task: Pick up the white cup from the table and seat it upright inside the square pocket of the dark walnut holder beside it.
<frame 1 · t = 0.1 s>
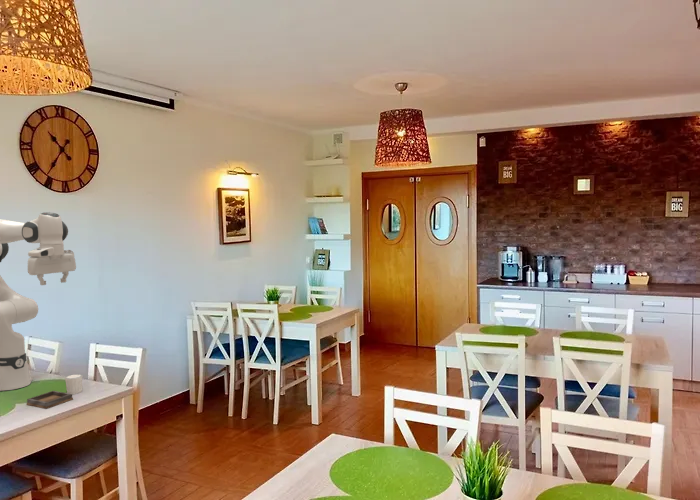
hand: (53, 283, 231), 48 cm above the table, tool pointing down, fingers open, 8 cm apart
white cup: (74, 392, 237), on the table
walnut holder: (50, 402, 225), on the table
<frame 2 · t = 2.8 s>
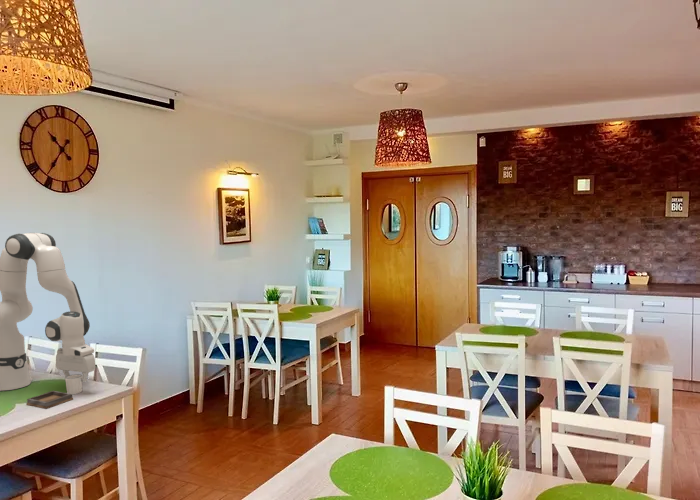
hand: (76, 380, 237), 5 cm above the table, tool pointing down, fingers open, 8 cm apart
nothing on the table moved.
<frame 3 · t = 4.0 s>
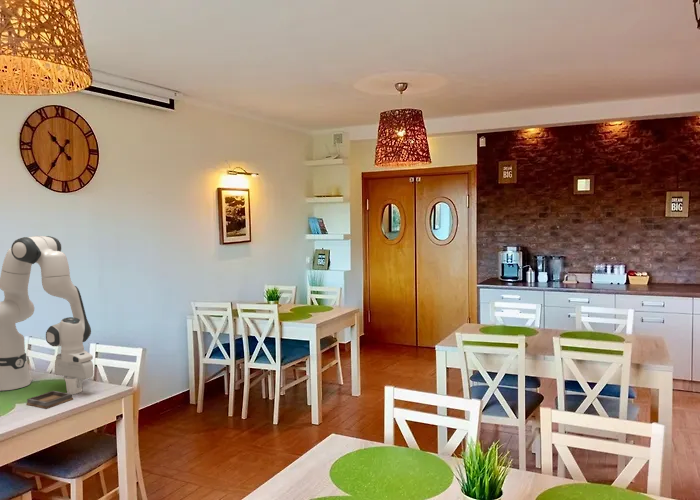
hand: (74, 386, 237), 2 cm above the table, tool pointing down, fingers closed on white cup, 5 cm apart
white cup: (74, 392, 237), on the table, touching gripper
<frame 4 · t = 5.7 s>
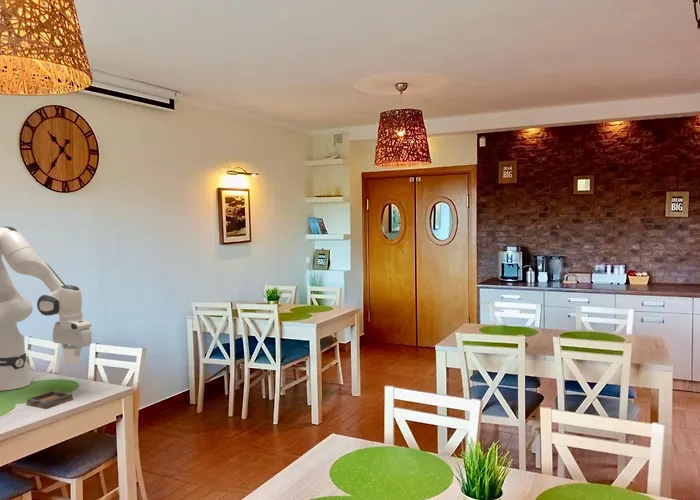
hand: (72, 354, 236), 16 cm above the table, tool pointing down, fingers closed on white cup, 5 cm apart
white cup: (72, 363, 237), point 13 cm above the table, touching gripper
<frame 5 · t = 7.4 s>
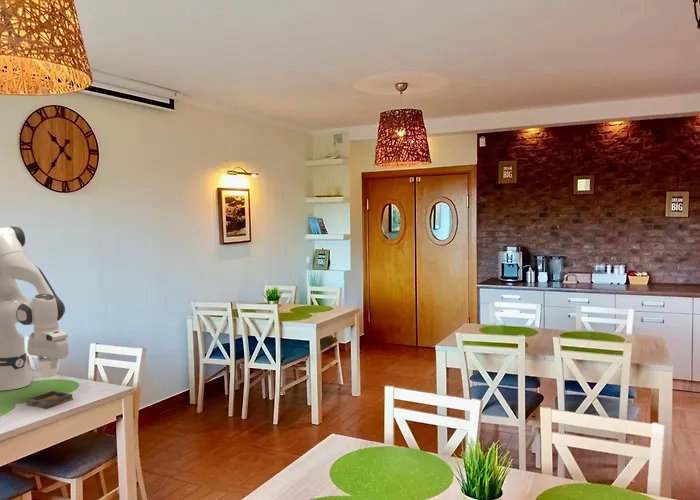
hand: (48, 367, 224), 15 cm above the table, tool pointing down, fingers closed on white cup, 5 cm apart
white cup: (49, 376, 224), point 11 cm above the table, touching gripper
when the fingers open (5 cm above the table, at t = 9.9 s): white cup stays where it is, resting on walnut holder.
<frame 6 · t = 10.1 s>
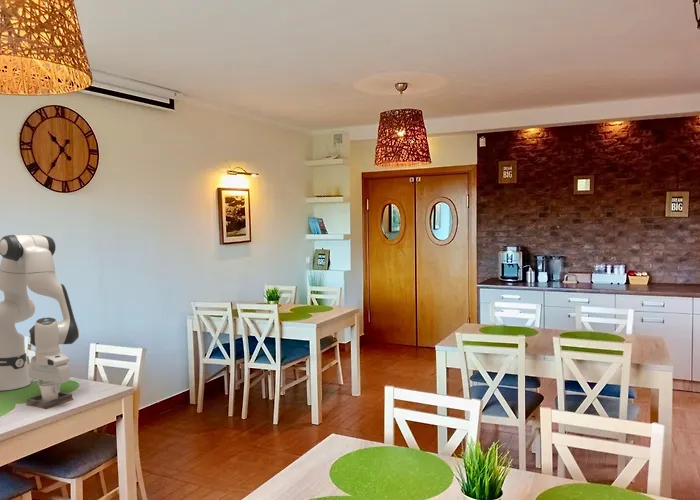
hand: (49, 391, 224), 5 cm above the table, tool pointing down, fingers open, 7 cm apart
white cup: (50, 400, 225), point 1 cm above the table, touching walnut holder
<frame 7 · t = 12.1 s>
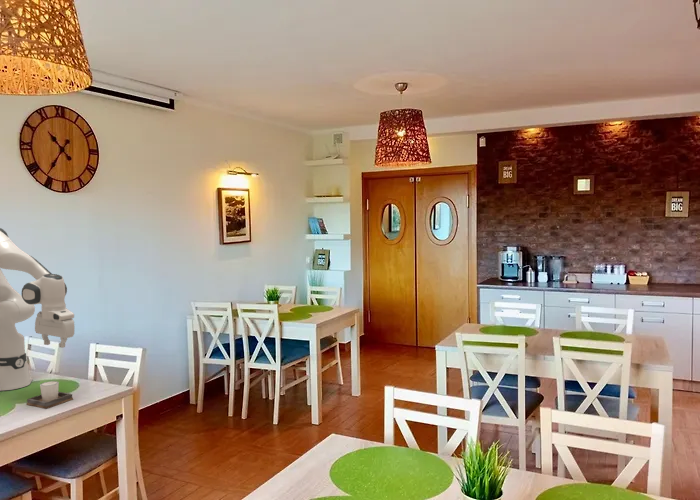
hand: (54, 345, 228), 22 cm above the table, tool pointing down, fingers open, 8 cm apart
nothing on the table moved.
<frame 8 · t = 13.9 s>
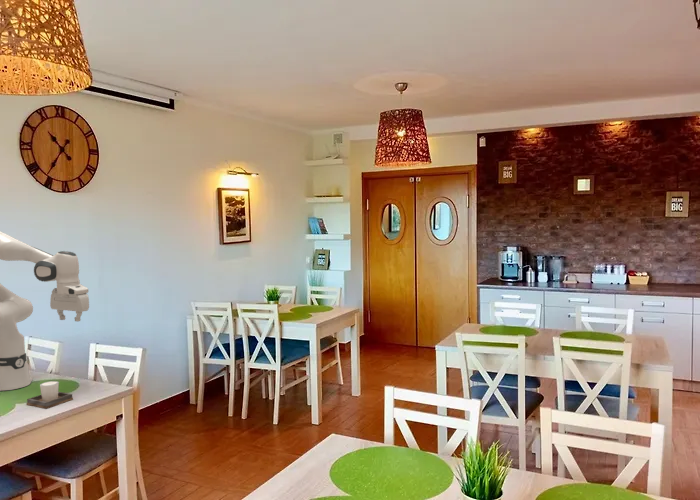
hand: (70, 320, 237), 31 cm above the table, tool pointing down, fingers open, 8 cm apart
nothing on the table moved.
at the end: white cup 0.2 cm off-centre on the walnut holder, point 0.6 cm above the walnut holder's base; white cup tilted 0°; the gripper is holding nothing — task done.
